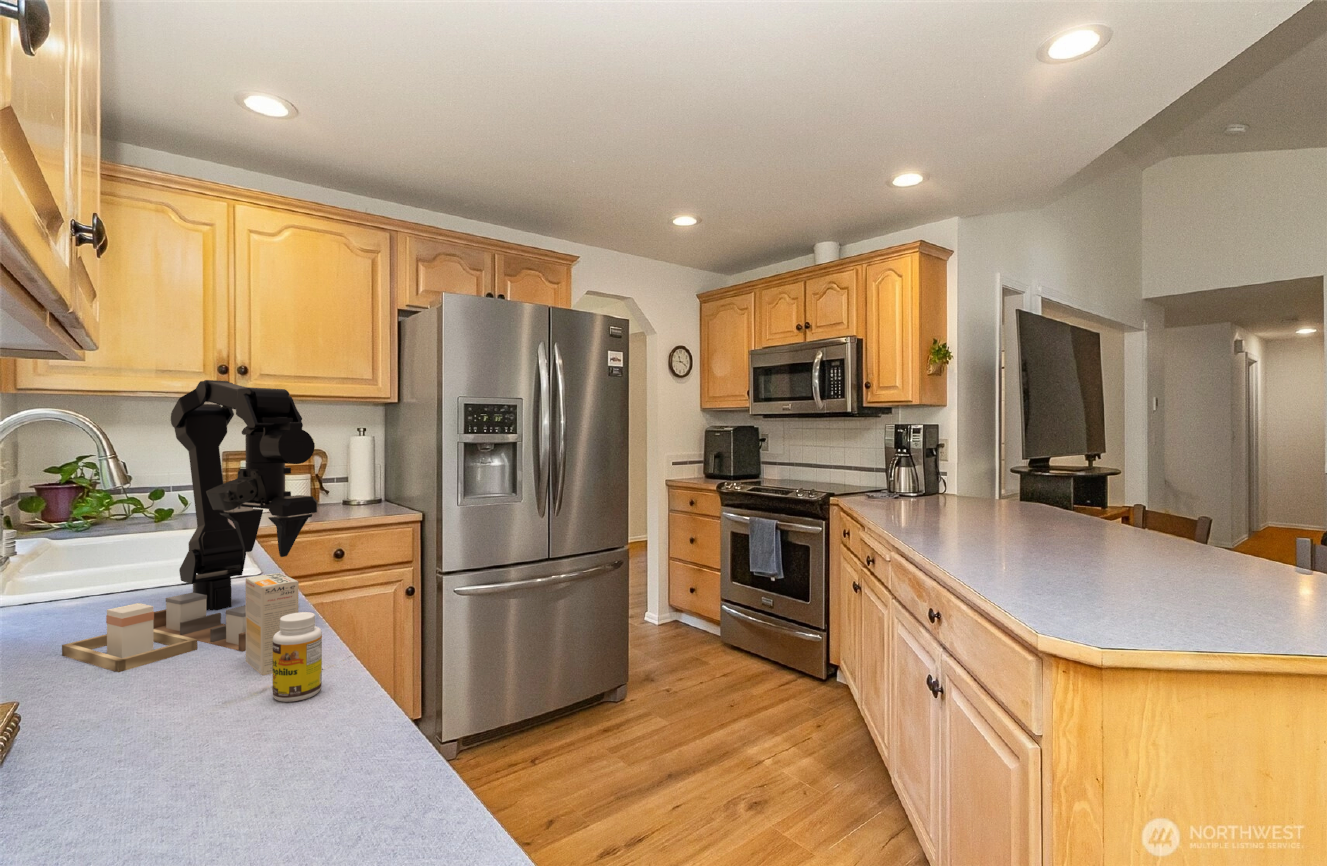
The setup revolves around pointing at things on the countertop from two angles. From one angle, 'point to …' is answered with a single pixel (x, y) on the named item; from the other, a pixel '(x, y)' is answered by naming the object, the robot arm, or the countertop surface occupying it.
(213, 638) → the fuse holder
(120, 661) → the tray
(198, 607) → the grey beige rectangular block
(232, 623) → the block
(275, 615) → the supplement box
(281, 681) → the supplement bottle
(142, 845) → the countertop surface
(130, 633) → the beige striped box
